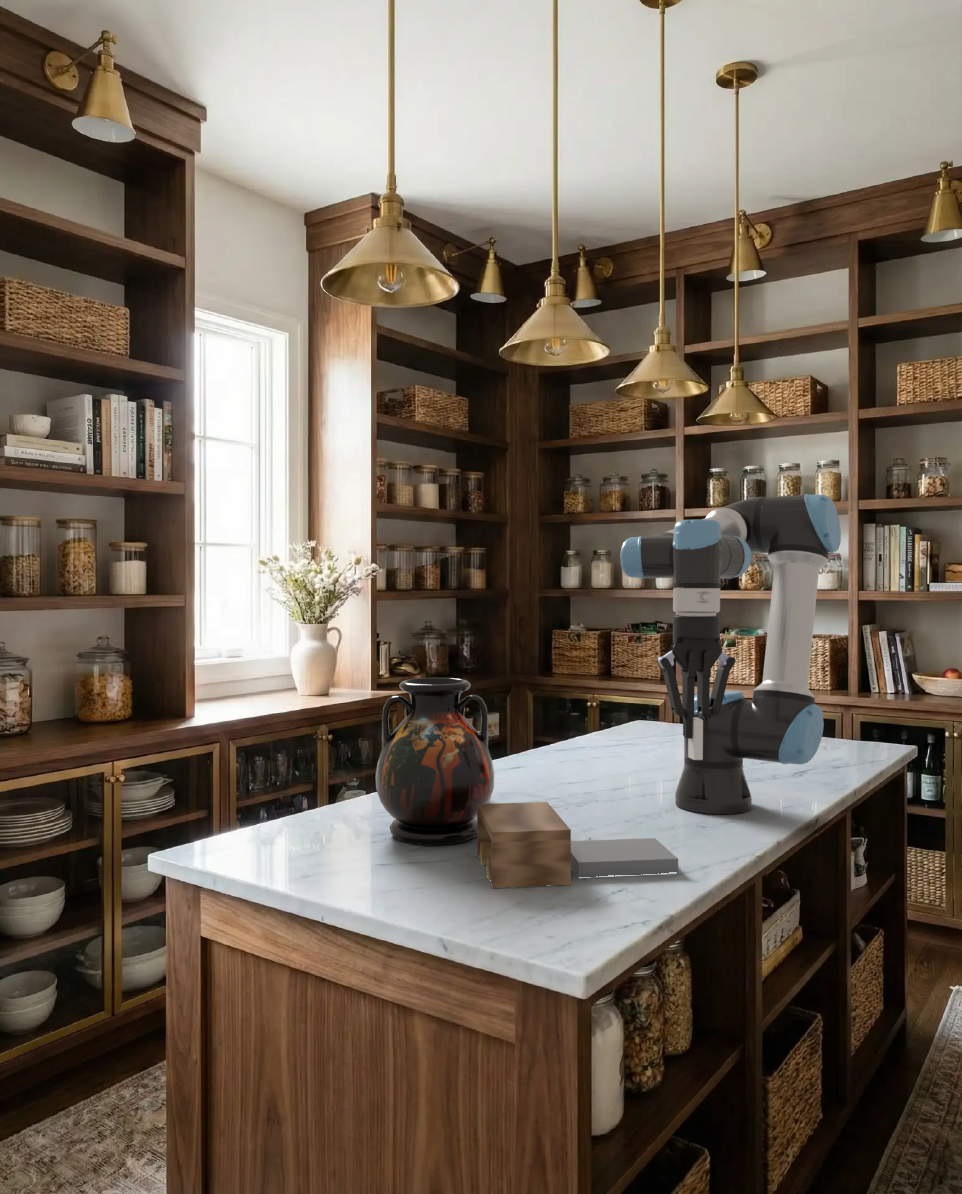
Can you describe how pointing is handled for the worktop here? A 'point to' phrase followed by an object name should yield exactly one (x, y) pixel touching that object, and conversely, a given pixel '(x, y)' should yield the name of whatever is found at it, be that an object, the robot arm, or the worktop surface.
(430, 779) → the amphora vase
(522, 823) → the walnut shelf
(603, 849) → the slate board
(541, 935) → the worktop surface
